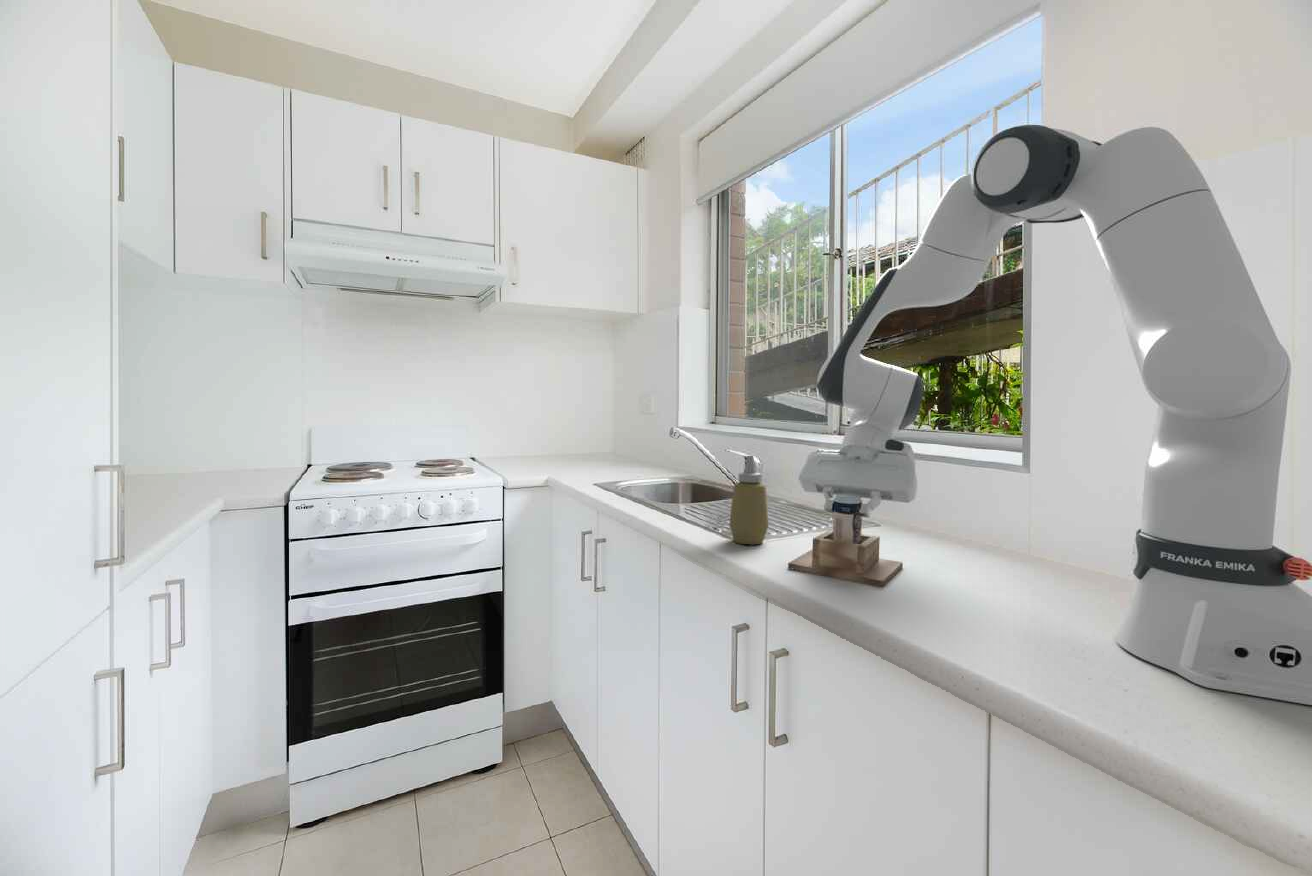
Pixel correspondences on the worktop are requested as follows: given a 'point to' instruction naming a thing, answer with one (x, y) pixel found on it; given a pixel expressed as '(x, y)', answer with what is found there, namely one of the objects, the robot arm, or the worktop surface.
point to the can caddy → (848, 560)
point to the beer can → (847, 518)
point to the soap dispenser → (749, 507)
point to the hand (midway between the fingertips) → (846, 513)
